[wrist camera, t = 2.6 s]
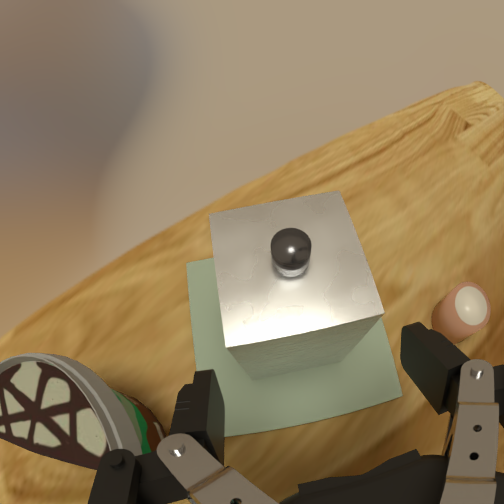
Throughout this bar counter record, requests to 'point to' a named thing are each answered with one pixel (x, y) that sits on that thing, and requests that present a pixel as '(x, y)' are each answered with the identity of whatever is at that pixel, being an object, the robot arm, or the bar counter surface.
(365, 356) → the rubber mat
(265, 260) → the steel cover
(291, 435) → the bar counter surface
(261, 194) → the bar counter surface
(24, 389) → the food container
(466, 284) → the terracotta ramekin
